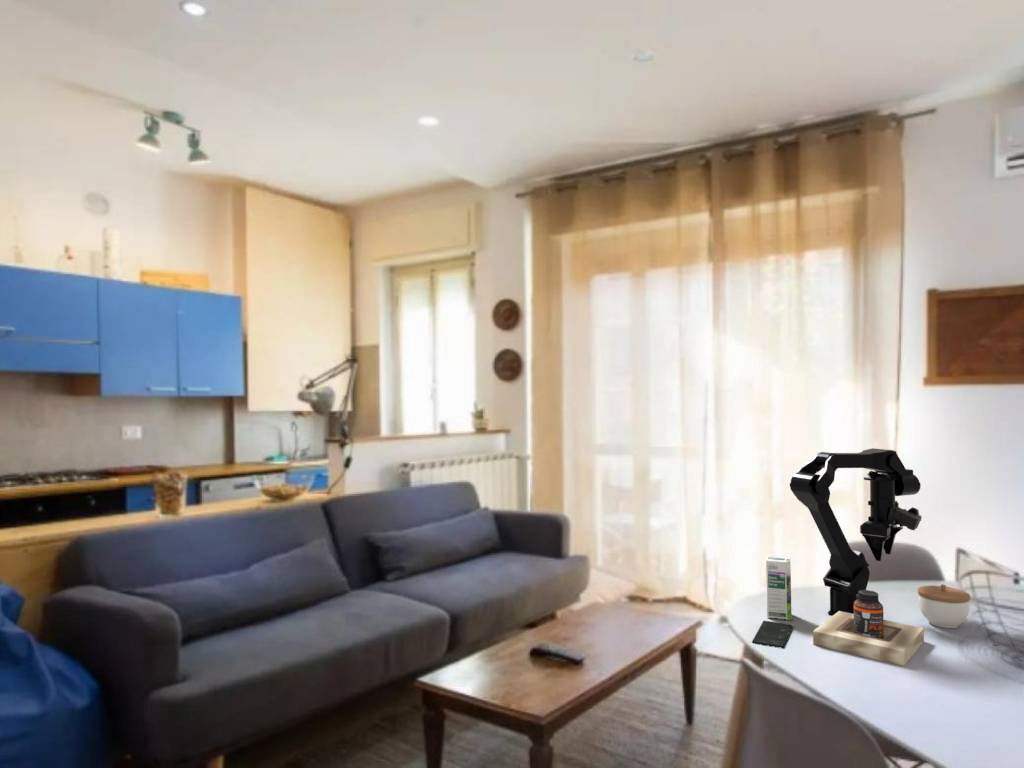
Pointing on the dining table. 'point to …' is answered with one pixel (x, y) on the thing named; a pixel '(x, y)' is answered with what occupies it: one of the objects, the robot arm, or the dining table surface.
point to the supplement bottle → (868, 614)
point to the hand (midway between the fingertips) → (883, 557)
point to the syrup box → (778, 587)
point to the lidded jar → (944, 605)
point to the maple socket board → (870, 639)
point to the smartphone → (773, 634)
